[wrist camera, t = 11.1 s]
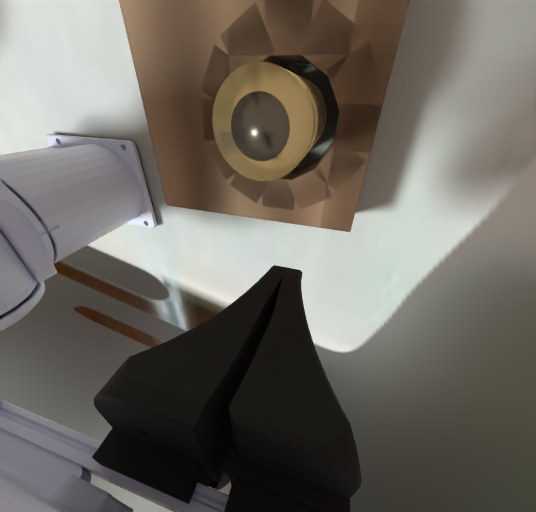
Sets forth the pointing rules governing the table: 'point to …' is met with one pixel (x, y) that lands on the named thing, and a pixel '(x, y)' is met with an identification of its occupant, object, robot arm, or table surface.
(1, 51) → the table surface
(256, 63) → the bushing
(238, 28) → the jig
